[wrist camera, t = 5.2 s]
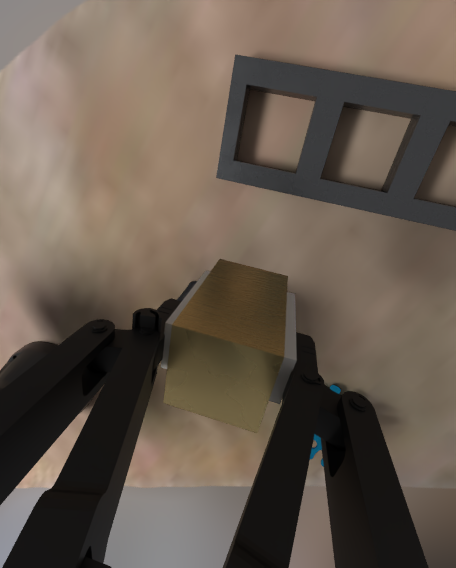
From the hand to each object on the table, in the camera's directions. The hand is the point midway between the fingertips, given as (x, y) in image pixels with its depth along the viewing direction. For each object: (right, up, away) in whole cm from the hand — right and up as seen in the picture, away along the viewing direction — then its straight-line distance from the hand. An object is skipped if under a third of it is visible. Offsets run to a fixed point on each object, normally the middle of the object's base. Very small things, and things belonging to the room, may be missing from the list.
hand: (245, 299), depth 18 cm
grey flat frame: (+11, +14, +8) cm, 19 cm away
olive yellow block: (0, 0, 0) cm, 0 cm away
